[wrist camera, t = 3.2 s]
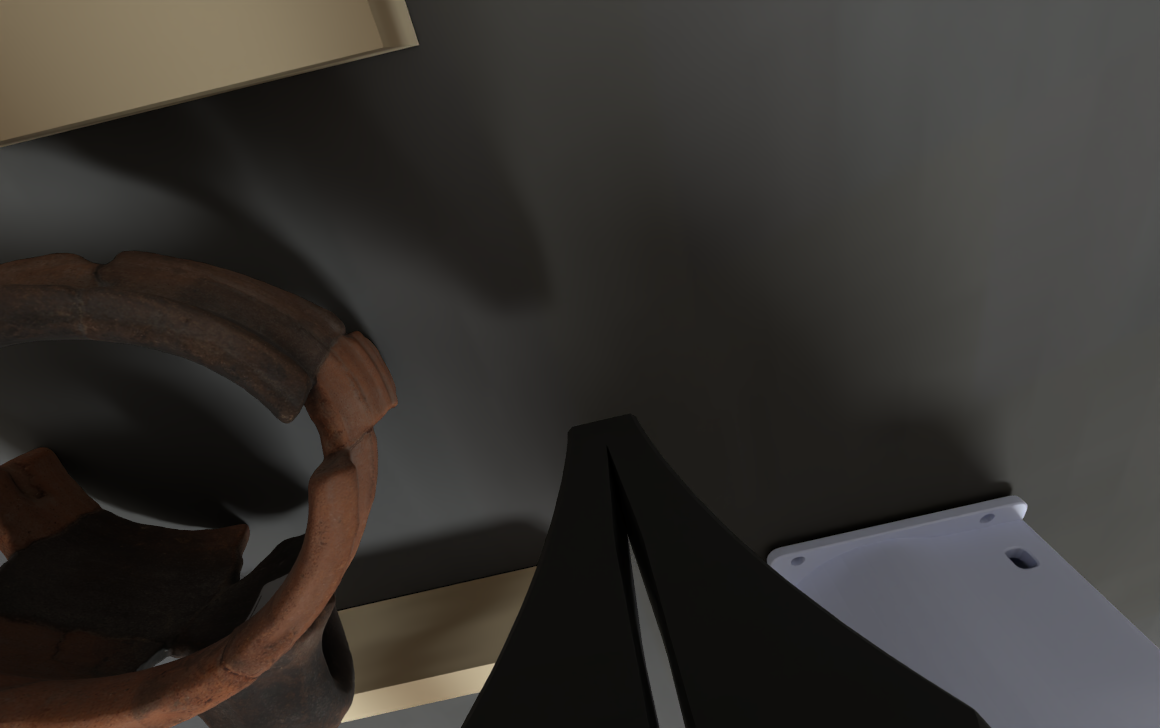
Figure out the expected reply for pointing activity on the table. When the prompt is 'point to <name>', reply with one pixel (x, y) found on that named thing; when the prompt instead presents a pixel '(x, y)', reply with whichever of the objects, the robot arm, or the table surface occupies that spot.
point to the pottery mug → (183, 557)
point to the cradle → (209, 67)
